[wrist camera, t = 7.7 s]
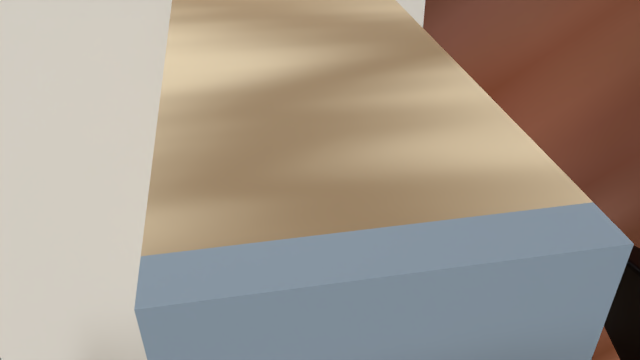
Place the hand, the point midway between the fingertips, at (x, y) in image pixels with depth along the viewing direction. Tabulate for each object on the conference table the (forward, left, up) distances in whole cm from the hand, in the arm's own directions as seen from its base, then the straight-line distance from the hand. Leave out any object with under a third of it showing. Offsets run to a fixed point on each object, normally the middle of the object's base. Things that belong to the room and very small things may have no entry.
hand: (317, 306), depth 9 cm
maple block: (0, 0, -5) cm, 5 cm away
